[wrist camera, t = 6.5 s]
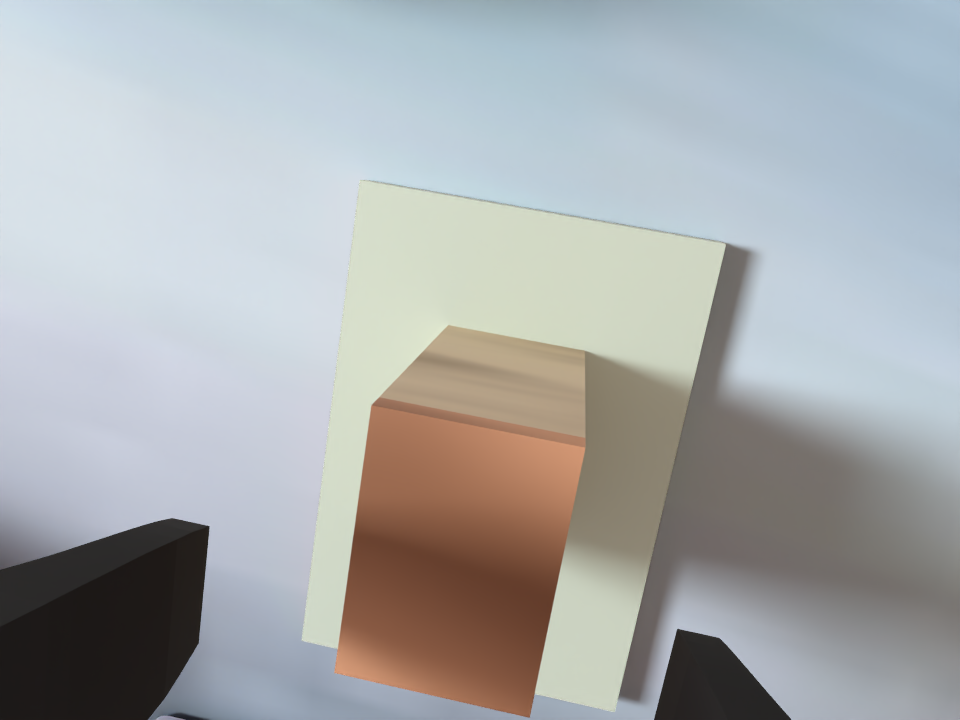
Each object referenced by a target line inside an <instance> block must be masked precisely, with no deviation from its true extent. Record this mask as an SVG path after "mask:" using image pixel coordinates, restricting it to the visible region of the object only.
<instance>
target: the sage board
mask: <svg viewBox="0 0 960 720" xmlns="http://www.w3.org/2000/svg"><path fill="white" fill-rule="evenodd" d="M725 247H726V244H725V243H723V242H720V241H714V240H708V239H703V238H697V237H691V236H685V235H680V234H674V233H668V232H662V231H657V230H651V229H645V228H640V227H634V226H628V225H622V224H617V223H611V222H605V221H599V220H594V219H588V218H582V217H577V216H571V215H565V214H559V213H554V212H548V211H542V210H536V209H531V208H525V207H519V206H513V205H508V204H502V203H496V202H491V201H485V200H479V199H473V198H468V197H462V196H456V195H450V194H445V193H439V192H433V191H427V190H422V189H416V188H410V187H405V186H399V185H393V184H387V183H382V182H376V181H370V180H360V183H359V191H358V199H357V207H356V214H355V222H354V230H353V238H352V246H351V254H350V262H349V270H348V278H347V286H346V293H345V301H344V309H343V317H342V325H341V333H340V341H339V349H338V357H337V365H336V373H335V380H334V388H333V396H332V404H331V412H330V420H329V428H328V436H327V444H326V452H325V460H324V467H323V475H322V483H321V491H320V499H319V507H318V515H317V523H316V531H315V539H314V547H313V554H312V562H311V570H310V578H309V586H308V594H307V602H306V610H305V618H304V626H303V634H302V641H305V642H309V643H314V644H318V645H323V646H327V647H331V648H336V649H338V644H339V636H340V629H341V622H342V615H343V607H344V600H345V593H346V585H347V578H348V571H349V564H350V556H351V549H352V542H353V535H354V527H355V520H356V513H357V506H358V498H359V491H360V484H361V476H362V469H363V462H364V455H365V447H366V440H367V433H368V426H369V418H370V411H371V405H372V404H373V403H374V402H375V401H376V400H377V399H378V398H379V397H380V396H381V395H382V394H383V393H384V391H385V390H386V389H387V388H388V387H389V386H390V385H391V384H392V383H393V382H394V381H395V380H396V379H397V378H398V377H399V376H400V375H401V374H402V373H403V372H404V371H405V370H406V369H407V367H408V366H409V365H410V364H411V363H412V362H413V361H414V360H415V359H416V358H417V357H418V356H419V355H420V354H421V353H422V352H423V351H424V350H425V349H426V348H427V347H428V346H429V345H430V344H431V342H432V341H433V340H434V339H435V338H436V337H437V336H438V335H439V334H440V333H441V332H442V331H443V330H444V329H445V328H446V327H447V326H448V325H451V326H456V327H461V328H467V329H472V330H477V331H483V332H488V333H493V334H499V335H504V336H509V337H515V338H520V339H525V340H531V341H536V342H541V343H546V344H552V345H557V346H562V347H568V348H573V349H578V350H584V351H585V439H586V448H585V453H584V458H583V462H582V467H581V472H580V477H579V482H578V487H577V491H576V496H575V501H574V506H573V511H572V515H571V520H570V525H569V530H568V535H567V540H566V544H565V549H564V554H563V559H562V564H561V568H560V573H559V578H558V583H557V588H556V593H555V597H554V602H553V607H552V612H551V617H550V621H549V626H548V631H547V636H546V641H545V646H544V650H543V655H542V660H541V665H540V670H539V674H538V679H537V684H536V689H535V694H537V695H542V696H546V697H551V698H555V699H559V700H564V701H568V702H572V703H577V704H581V705H586V706H590V707H594V708H599V709H603V710H608V711H612V712H615V709H616V704H617V700H618V696H619V692H620V688H621V683H622V679H623V675H624V671H625V667H626V662H627V658H628V654H629V650H630V646H631V641H632V637H633V633H634V629H635V625H636V620H637V616H638V612H639V608H640V604H641V600H642V595H643V591H644V587H645V583H646V579H647V574H648V570H649V566H650V562H651V558H652V553H653V549H654V545H655V541H656V537H657V532H658V528H659V524H660V520H661V516H662V511H663V507H664V503H665V499H666V495H667V490H668V486H669V482H670V478H671V474H672V469H673V465H674V461H675V457H676V453H677V448H678V444H679V440H680V436H681V432H682V427H683V423H684V419H685V415H686V411H687V406H688V402H689V398H690V394H691V390H692V385H693V381H694V377H695V373H696V369H697V364H698V360H699V356H700V352H701V348H702V343H703V339H704V335H705V331H706V327H707V322H708V318H709V314H710V310H711V306H712V301H713V297H714V293H715V289H716V285H717V281H718V276H719V272H720V268H721V264H722V260H723V255H724V251H725Z"/></svg>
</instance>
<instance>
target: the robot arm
mask: <svg viewBox="0 0 960 720" xmlns="http://www.w3.org/2000/svg"><path fill="white" fill-rule="evenodd" d="M208 537H209V526H205V525H201V524H196V523H192V522H187V521H183V520H178V519H173V518H171V519H166V520H161V521H157V522H153V523H150V524H146V525H143V526H140V527H136V528H133V529H130V530H127V531H124V532H121V533H118V534H115V535H112V536H109V537H106V538H103V539H99V540H96V541H93V542H90V543H87V544H84V545H81V546H78V547H75V548H72V549H69V550H66V551H63V552H60V553H57V554H54V555H50V556H47V557H44V558H40V559H37V560H33V561H30V562H26V563H23V564H20V565H16V566H13V567H9V568H6V569H2V570H0V720H148V719H149V717H150V716H151V715H152V714H153V712H154V711H155V710H156V709H157V707H158V706H159V705H160V704H161V702H162V701H163V700H164V698H165V697H166V695H167V694H168V692H169V691H170V689H171V687H172V686H173V684H174V683H175V681H176V680H177V678H178V677H179V675H180V673H181V672H182V670H183V668H184V667H185V665H186V663H187V662H188V660H189V658H190V657H191V655H192V653H193V652H194V650H195V648H196V647H197V645H198V643H199V633H200V622H201V611H202V601H203V590H204V580H205V569H206V558H207V548H208ZM156 720H184V719H180V718H176V717H172V716H160V717H158V718H157V719H156ZM654 720H791V719H790V717H789V716H788V715H787V714H786V713H785V712H784V711H783V710H782V708H781V707H780V706H779V705H778V704H777V703H776V702H775V701H774V699H773V698H772V697H771V696H770V695H769V694H768V693H767V691H766V690H765V689H764V688H763V687H762V686H761V684H760V683H759V682H758V681H757V680H756V679H755V677H754V676H753V675H752V674H751V673H750V672H749V670H748V669H747V668H746V667H745V666H744V665H743V663H742V662H741V661H740V660H739V659H738V658H737V656H736V655H735V654H734V653H733V652H732V651H731V650H730V649H729V648H728V646H727V645H726V644H725V643H724V642H723V641H722V640H721V639H720V638H716V637H712V636H707V635H703V634H698V633H694V632H689V631H684V630H680V629H677V632H676V636H675V640H674V644H673V648H672V652H671V656H670V660H669V664H668V667H667V671H666V675H665V679H664V683H663V687H662V691H661V695H660V699H659V703H658V707H657V711H656V715H655V719H654Z"/></svg>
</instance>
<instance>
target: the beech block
mask: <svg viewBox="0 0 960 720" xmlns="http://www.w3.org/2000/svg"><path fill="white" fill-rule="evenodd" d="M585 448H586V439H585V351H584V350H578V349H573V348H568V347H562V346H557V345H552V344H546V343H541V342H536V341H531V340H525V339H520V338H515V337H509V336H504V335H499V334H493V333H488V332H483V331H477V330H472V329H467V328H461V327H456V326H451V325H448V326H447V327H446V328H445V329H444V330H443V331H442V332H441V333H440V334H439V335H438V336H437V337H436V338H435V339H434V340H433V341H432V342H431V344H430V345H429V346H428V347H427V348H426V349H425V350H424V351H423V352H422V353H421V354H420V355H419V356H418V357H417V358H416V359H415V360H414V361H413V362H412V363H411V364H410V365H409V366H408V367H407V369H406V370H405V371H404V372H403V373H402V374H401V375H400V376H399V377H398V378H397V379H396V380H395V381H394V382H393V383H392V384H391V385H390V386H389V387H388V388H387V389H386V390H385V391H384V393H383V394H382V395H381V396H380V397H379V398H378V399H377V400H376V401H375V402H374V403H373V404H372V405H371V411H370V418H369V426H368V433H367V440H366V447H365V455H364V462H363V469H362V476H361V484H360V491H359V498H358V506H357V513H356V520H355V527H354V535H353V542H352V549H351V556H350V564H349V571H348V578H347V585H346V593H345V600H344V607H343V615H342V622H341V629H340V636H339V644H338V651H337V658H336V665H335V673H337V674H342V675H346V676H350V677H355V678H359V679H363V680H368V681H372V682H376V683H381V684H385V685H389V686H394V687H398V688H403V689H407V690H411V691H416V692H420V693H424V694H429V695H433V696H437V697H442V698H446V699H450V700H455V701H459V702H463V703H468V704H472V705H477V706H481V707H485V708H490V709H494V710H498V711H503V712H507V713H511V714H516V715H520V716H524V717H529V718H530V713H531V708H532V703H533V699H534V694H535V689H536V684H537V679H538V674H539V670H540V665H541V660H542V655H543V650H544V646H545V641H546V636H547V631H548V626H549V621H550V617H551V612H552V607H553V602H554V597H555V593H556V588H557V583H558V578H559V573H560V568H561V564H562V559H563V554H564V549H565V544H566V540H567V535H568V530H569V525H570V520H571V515H572V511H573V506H574V501H575V496H576V491H577V487H578V482H579V477H580V472H581V467H582V462H583V458H584V453H585Z"/></svg>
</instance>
